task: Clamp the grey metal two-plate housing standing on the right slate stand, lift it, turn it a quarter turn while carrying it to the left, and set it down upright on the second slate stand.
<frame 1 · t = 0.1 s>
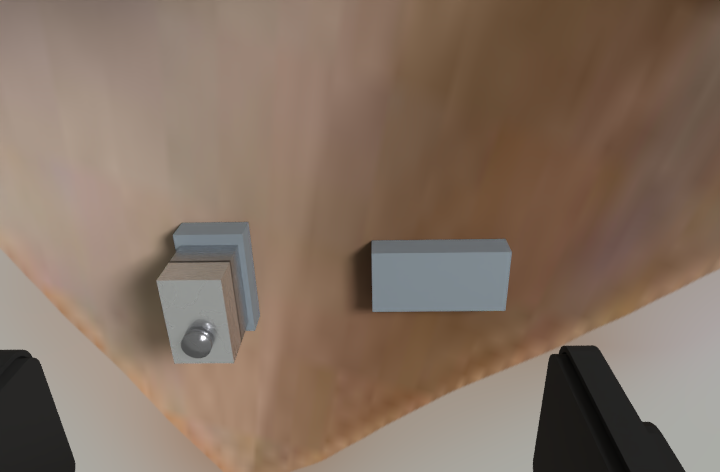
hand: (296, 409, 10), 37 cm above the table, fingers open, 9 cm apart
stand a: (222, 270, 51), on the table
housing: (215, 284, 49), point 2 cm above the table, touching stand a
stand b: (437, 268, 51), on the table
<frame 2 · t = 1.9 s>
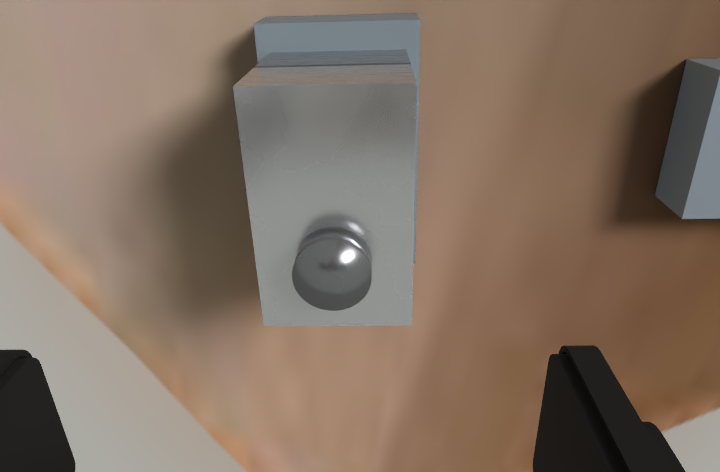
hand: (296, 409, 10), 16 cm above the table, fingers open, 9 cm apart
stand a: (345, 137, 24), on the table
housing: (342, 155, 22), point 2 cm above the table, touching stand a
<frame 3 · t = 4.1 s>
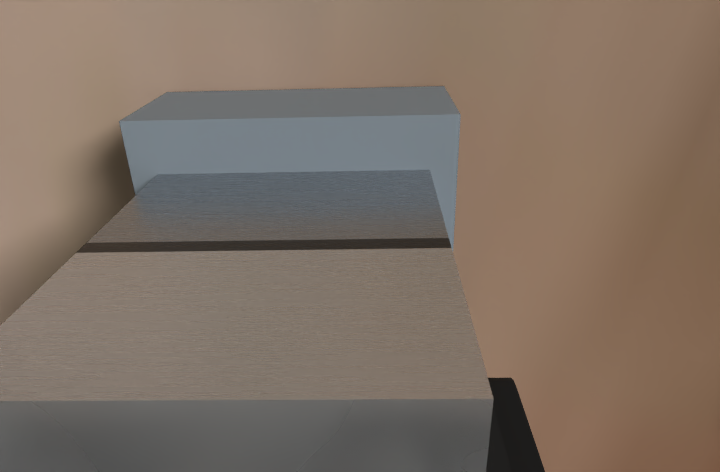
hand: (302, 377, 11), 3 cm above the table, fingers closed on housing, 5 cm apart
stand a: (318, 287, 14), on the table
housing: (307, 348, 12), point 2 cm above the table, touching gripper, stand a
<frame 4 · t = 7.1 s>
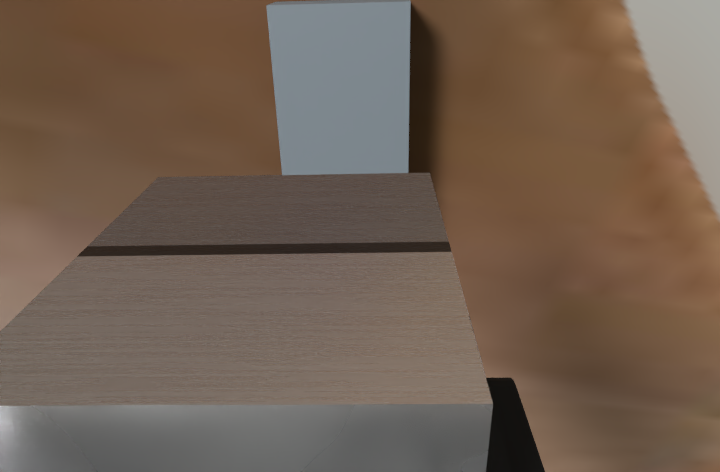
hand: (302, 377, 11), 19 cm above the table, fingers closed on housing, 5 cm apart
housing: (307, 350, 12), point 18 cm above the table, touching gripper
stand b: (346, 129, 28), on the table
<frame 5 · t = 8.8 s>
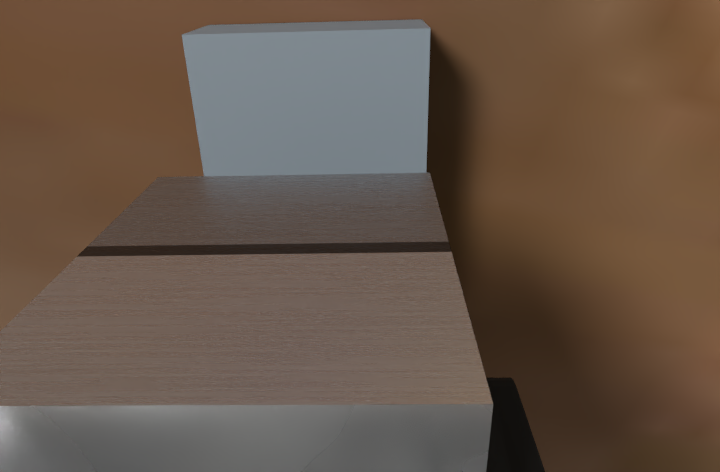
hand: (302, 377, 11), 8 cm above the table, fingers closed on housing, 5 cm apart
housing: (307, 350, 12), point 7 cm above the table, touching gripper
stand b: (326, 217, 18), on the table
when the fingers open (4 cm above the table, at t = 10.3 s): housing drops 1 cm, resting on stand b.
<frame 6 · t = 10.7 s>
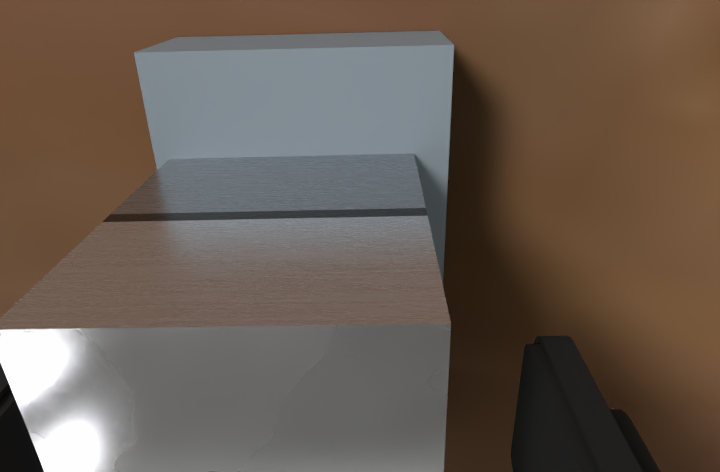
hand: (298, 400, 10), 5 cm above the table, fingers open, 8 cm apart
housing: (305, 319, 13), point 2 cm above the table, touching stand b
stand b: (321, 264, 15), on the table
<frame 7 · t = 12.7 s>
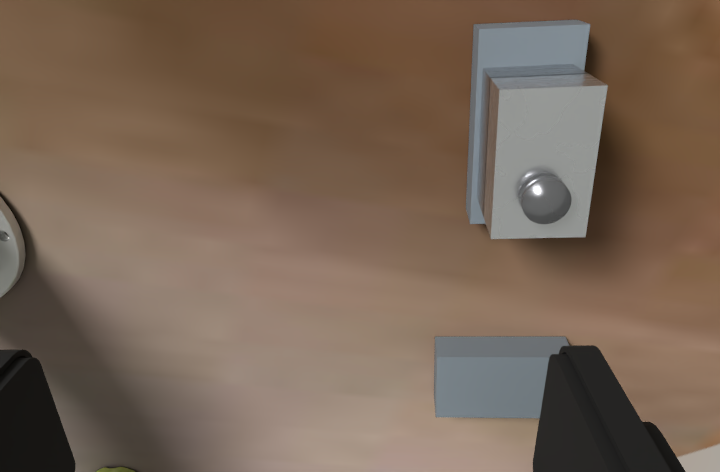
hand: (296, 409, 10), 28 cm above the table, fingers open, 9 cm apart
stand a: (497, 366, 44), on the table
housing: (521, 134, 33), point 2 cm above the table, touching stand b
stand b: (516, 121, 35), on the table
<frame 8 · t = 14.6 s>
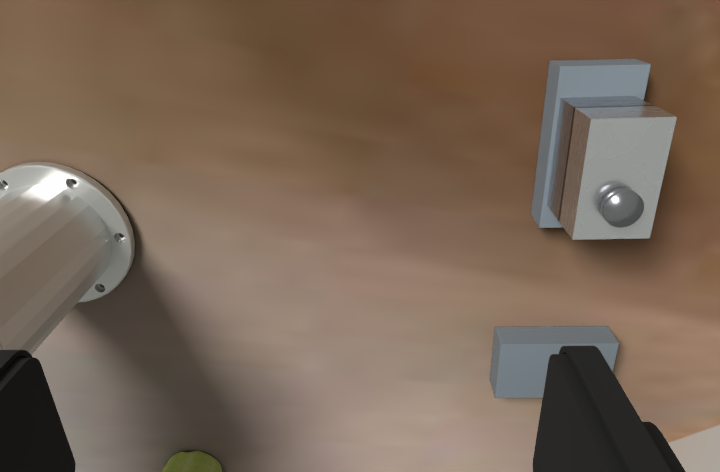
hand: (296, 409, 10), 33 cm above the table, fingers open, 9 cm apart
stand a: (547, 353, 51), on the table
housing: (588, 152, 40), point 2 cm above the table, touching stand b
plant pot: (196, 467, 58), on the table
stand b: (579, 141, 42), on the table
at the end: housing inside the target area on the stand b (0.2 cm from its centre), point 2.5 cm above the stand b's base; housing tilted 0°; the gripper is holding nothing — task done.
